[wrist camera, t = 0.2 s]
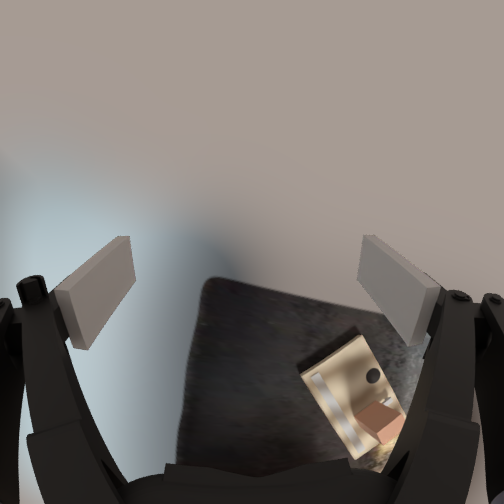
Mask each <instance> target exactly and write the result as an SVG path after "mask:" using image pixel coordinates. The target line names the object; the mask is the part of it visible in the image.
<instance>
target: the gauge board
mask: <svg viewBox="0 0 504 504" xmlns="http://www.w3.org/2000/svg"><path fill="white" fill-rule="evenodd" d="M300 376H301V378H302V379H303V381H304V382H305V384H306V386H307V387H308V389H309V390H310V392H311V394H312V395H313V397H314V398H315V400H316V401H317V403H318V405H319V406H320V408H321V409H322V411H323V412H324V414H325V416H326V417H327V419H328V420H329V422H330V423H331V425H332V426H333V428H334V430H335V431H336V433H337V434H338V436H339V437H340V439H341V440H342V442H343V443H344V445H345V447H346V448H347V450H348V451H349V453H350V454H351V456H352V457H353V458H354V459H355V460H356V459H357V458H359V457H360V456H362V455H363V454H365V453H366V452H368V451H369V450H370V449H372V448H373V447H375V446H376V445H377V444H379V442H378V441H377V440H376V439H374V438H373V437H372V436H370V435H369V434H368V433H367V432H365V431H364V430H363V429H362V428H360V426H359V424H358V423H357V421H356V420H355V418H354V416H355V415H357V414H358V413H359V412H361V411H362V410H363V409H365V408H366V407H368V406H369V405H370V404H372V403H373V402H374V401H375V400H376V401H378V402H380V403H382V402H383V401H385V398H387V397H391V398H392V400H393V402H392V403H391V404H389V405H388V407H390V408H392V409H394V410H396V411H398V412H400V413H402V415H403V417H404V419H406V415H405V413H404V411H403V409H402V407H401V405H400V403H399V401H398V400H397V398H396V396H395V394H394V392H393V390H392V388H391V386H390V384H389V382H388V381H387V379H386V377H385V375H384V373H383V371H382V370H381V368H380V366H379V364H378V362H377V360H376V359H375V357H374V355H373V353H372V351H371V350H370V348H369V346H368V344H367V343H366V341H365V339H364V337H363V336H362V335H357V336H356V337H355V338H353V339H352V340H350V341H349V342H348V343H346V344H345V345H343V346H342V347H341V348H339V349H338V350H336V351H335V352H333V353H332V354H331V355H329V356H328V357H326V358H325V359H323V360H322V361H320V362H319V363H317V364H315V365H314V366H312V367H311V368H309V369H308V370H306V371H305V372H303V373H301V374H300Z"/></svg>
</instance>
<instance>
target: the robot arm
mask: <svg viewBox="0 0 504 504" xmlns="http://www.w3.org/2000/svg"><path fill="white" fill-rule="evenodd" d="M357 280H358V281H359V283H360V284H361V285H362V286H363V288H364V289H365V290H366V291H367V293H368V294H369V295H370V296H371V298H372V299H373V300H374V302H375V303H376V304H377V305H378V307H379V308H380V309H381V311H382V312H383V313H384V315H385V316H386V317H387V319H388V320H389V321H390V323H391V324H392V325H393V327H394V328H395V329H396V331H397V332H398V333H399V335H400V336H401V337H402V339H403V340H404V341H405V343H406V344H407V346H408V347H409V346H415V345H420V344H422V343H423V340H424V338H425V335H426V332H427V333H428V334H429V335H430V336H431V339H430V341H429V344H428V346H427V349H426V351H425V354H424V356H423V358H422V359H424V363H423V367H422V371H421V374H420V378H419V381H418V384H417V387H416V391H415V394H414V397H413V400H412V403H411V406H410V408H409V411H408V414H407V417H406V419H405V422H404V424H403V427H402V430H401V432H400V434H399V437H398V439H397V442H396V444H395V446H394V448H393V451H392V453H391V455H390V457H389V459H388V461H387V463H386V465H385V467H384V469H383V470H382V472H381V473H378V472H375V471H370V470H366V469H358V468H350V465H349V462H348V458H343V459H338V460H332V461H326V462H319V463H312V464H304V465H301V466H298V467H295V468H292V469H289V470H286V471H282V472H279V473H275V474H272V475H268V476H264V477H250V476H245V475H240V474H236V473H231V472H227V471H222V470H218V469H214V468H211V467H198V466H186V465H177V464H167V463H166V466H165V471H164V474H157V475H150V476H146V477H143V478H139V479H136V480H134V481H131V482H129V483H128V482H127V480H126V479H125V478H124V476H123V475H122V473H121V472H120V470H119V469H118V467H117V465H116V463H115V461H114V459H113V458H112V456H111V454H110V452H109V450H108V448H107V446H106V444H105V442H104V440H103V438H102V436H101V434H100V432H99V430H98V428H97V426H96V424H95V421H94V419H93V417H92V415H91V412H90V410H89V408H88V405H87V403H86V400H85V398H84V395H83V393H82V390H81V388H80V385H79V382H78V379H77V376H76V373H75V371H74V368H73V365H72V362H71V358H70V355H69V352H68V349H67V346H66V344H65V341H66V340H67V339H68V337H70V340H71V343H72V345H73V348H76V349H82V350H88V349H89V348H90V346H91V345H92V343H93V342H94V340H95V339H96V337H97V336H98V334H99V333H100V331H101V330H102V328H103V327H104V325H105V324H106V322H107V321H108V319H109V318H110V316H111V315H112V314H113V312H114V311H115V309H116V307H117V306H118V305H119V304H120V302H121V301H122V299H123V298H124V297H125V295H126V294H127V292H128V291H129V290H130V288H131V287H132V285H133V284H134V283H135V281H136V278H135V272H134V266H133V259H132V252H131V244H130V236H118V237H116V238H115V239H114V240H112V241H111V242H110V243H108V244H107V245H106V246H105V247H103V248H102V249H101V250H100V251H98V252H97V253H96V254H95V255H94V256H92V257H91V258H90V259H89V260H87V261H86V262H85V263H84V264H83V265H81V266H80V267H79V268H78V269H77V270H75V271H74V272H73V273H72V274H71V275H69V276H68V277H67V278H65V279H64V280H63V282H61V283H60V284H59V285H58V286H56V288H54V289H53V290H52V291H51V292H50V293H49V294H48V291H47V288H46V284H45V280H44V277H43V276H41V275H34V276H29V277H27V278H24V279H23V280H21V281H20V282H19V283H17V285H16V287H17V291H18V293H19V297H20V300H21V303H22V308H13V307H12V304H11V301H10V299H8V298H1V299H0V504H19V501H20V500H19V474H18V450H19V430H20V418H21V408H22V399H23V393H24V386H25V385H26V392H27V399H28V405H29V411H30V417H31V422H32V427H33V432H34V433H32V434H28V435H27V437H26V440H27V447H28V451H29V455H30V459H31V463H32V467H33V470H34V473H35V477H36V480H37V483H38V486H39V489H40V492H41V495H42V498H43V500H44V503H45V504H465V501H466V498H467V495H468V491H469V487H470V483H471V479H472V474H473V470H474V465H475V460H476V455H477V448H478V442H479V435H480V425H479V424H478V423H475V422H471V417H472V408H473V397H474V387H475V391H476V396H477V401H478V407H479V413H480V419H481V425H482V434H483V443H484V454H485V472H486V489H487V496H488V502H489V504H504V299H503V298H501V296H500V295H497V294H492V293H487V294H485V295H484V297H483V300H482V302H481V303H473V301H472V298H471V297H470V296H469V295H467V294H466V293H464V292H462V291H457V290H449V291H447V290H445V289H444V288H443V287H442V286H441V285H439V284H438V283H437V282H435V280H433V279H432V278H431V277H430V276H428V275H427V274H426V273H424V272H422V271H421V270H420V269H419V268H417V267H416V266H415V265H414V264H412V263H411V262H410V261H408V260H407V259H406V258H405V257H403V256H402V255H401V254H399V253H398V252H397V251H395V250H394V249H393V248H391V247H390V246H389V245H387V244H386V243H385V242H383V241H382V240H381V239H379V238H378V237H376V236H375V235H363V241H362V248H361V255H360V262H359V269H358V275H357Z"/></svg>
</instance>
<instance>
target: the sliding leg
mask: <svg viewBox="0 0 504 504" xmlns="http://www.w3.org/2000/svg"><path fill="white" fill-rule="evenodd" d="M392 402H393V400H392V398H391V397H387V398H385V401H383V402H382V403H380V402H378V401H376V400H375V401H374V402H373V403H372V404H370V405H369V406H368V407H366V408H365V409H363V410H362V411H361V412H359V413H358V414H357V415H355V416H354V418H355V420H356V421H357V423H358V424H359V426H360V428H362V429H363V430H364V431H365V432H367V433H368V434H369V435H370V436H372V437H373V438H374V439H376V440H377V441H378V442H379V443H381V444H382V445H385V444H386V443H387V442H389V441H390V440H391V439H392V438H394V437H395V436H396V435H397V434H399V433H400V432H401V430H402V427H403V424H404V422H405V419H404V417H403V415H402V413H400V412H398V411H396V410H394V409H392V408H390V407H388V405H389V404H391V403H392Z"/></svg>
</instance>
